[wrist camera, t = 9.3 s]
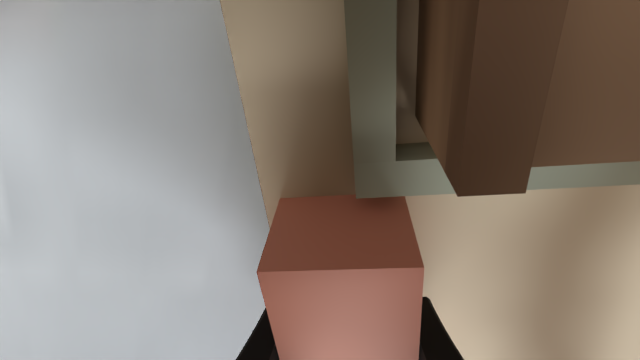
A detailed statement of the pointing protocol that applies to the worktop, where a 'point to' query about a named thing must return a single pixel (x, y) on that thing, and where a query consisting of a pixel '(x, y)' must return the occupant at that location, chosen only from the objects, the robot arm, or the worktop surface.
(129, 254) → the worktop surface
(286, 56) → the jig
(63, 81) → the worktop surface
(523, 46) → the brown u-shaped block
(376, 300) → the pink rectangular block
